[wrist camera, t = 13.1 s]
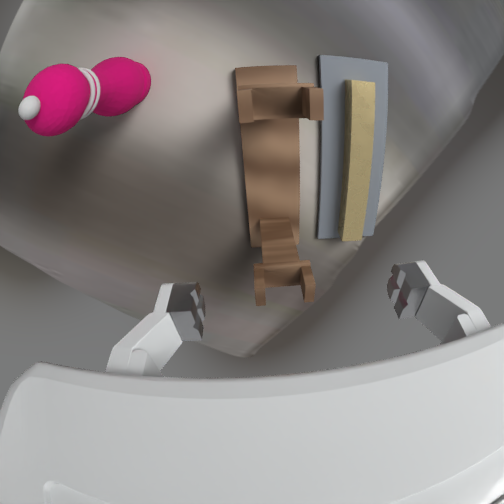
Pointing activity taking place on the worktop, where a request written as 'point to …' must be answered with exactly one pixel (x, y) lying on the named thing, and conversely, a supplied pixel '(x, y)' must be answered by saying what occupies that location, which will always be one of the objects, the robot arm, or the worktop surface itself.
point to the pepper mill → (82, 93)
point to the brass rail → (356, 157)
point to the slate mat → (333, 137)
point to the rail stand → (275, 170)
